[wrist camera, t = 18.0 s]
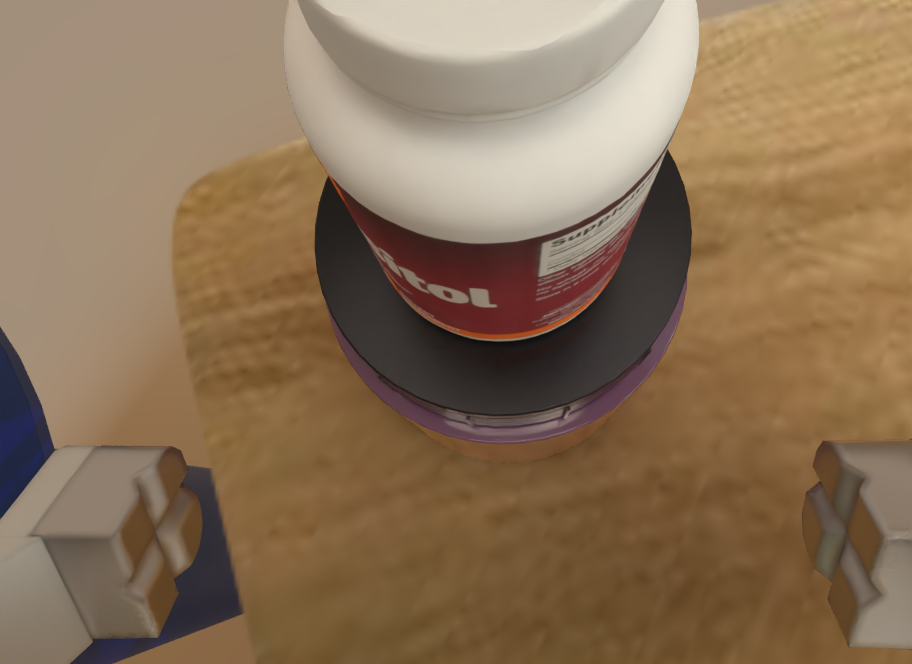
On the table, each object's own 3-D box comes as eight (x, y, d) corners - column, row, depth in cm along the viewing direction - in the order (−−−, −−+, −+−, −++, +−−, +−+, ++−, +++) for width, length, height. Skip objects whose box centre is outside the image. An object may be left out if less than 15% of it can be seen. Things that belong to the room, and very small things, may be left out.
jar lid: (344, 442, 20) (321, 434, 18) (329, 126, 23) (307, 82, 20) (698, 409, 20) (721, 396, 17) (646, 88, 22) (662, 38, 20)
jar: (388, 475, 29) (310, 456, 18) (372, 226, 32) (296, 82, 21) (657, 450, 28) (737, 416, 18) (619, 198, 31) (671, 35, 20)
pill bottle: (329, 223, 19) (89, -133, 9) (508, 72, 20) (492, -440, 9) (491, 402, 18) (445, 244, 7) (678, 235, 18) (897, -146, 8)
